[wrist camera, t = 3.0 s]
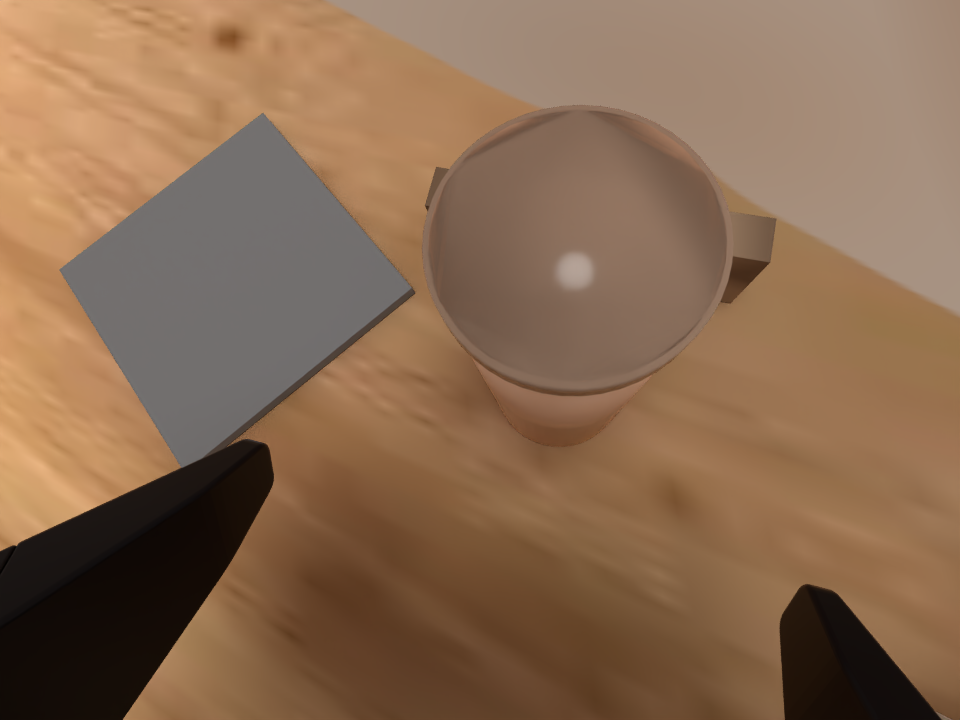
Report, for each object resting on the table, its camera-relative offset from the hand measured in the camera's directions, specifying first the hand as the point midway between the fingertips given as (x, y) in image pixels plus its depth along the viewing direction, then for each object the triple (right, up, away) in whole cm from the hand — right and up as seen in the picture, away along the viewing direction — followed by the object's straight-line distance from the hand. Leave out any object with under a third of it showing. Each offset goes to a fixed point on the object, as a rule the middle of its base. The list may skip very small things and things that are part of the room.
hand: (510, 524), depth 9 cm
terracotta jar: (+3, +2, +13) cm, 13 cm away
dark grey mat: (-12, +6, +16) cm, 20 cm away
